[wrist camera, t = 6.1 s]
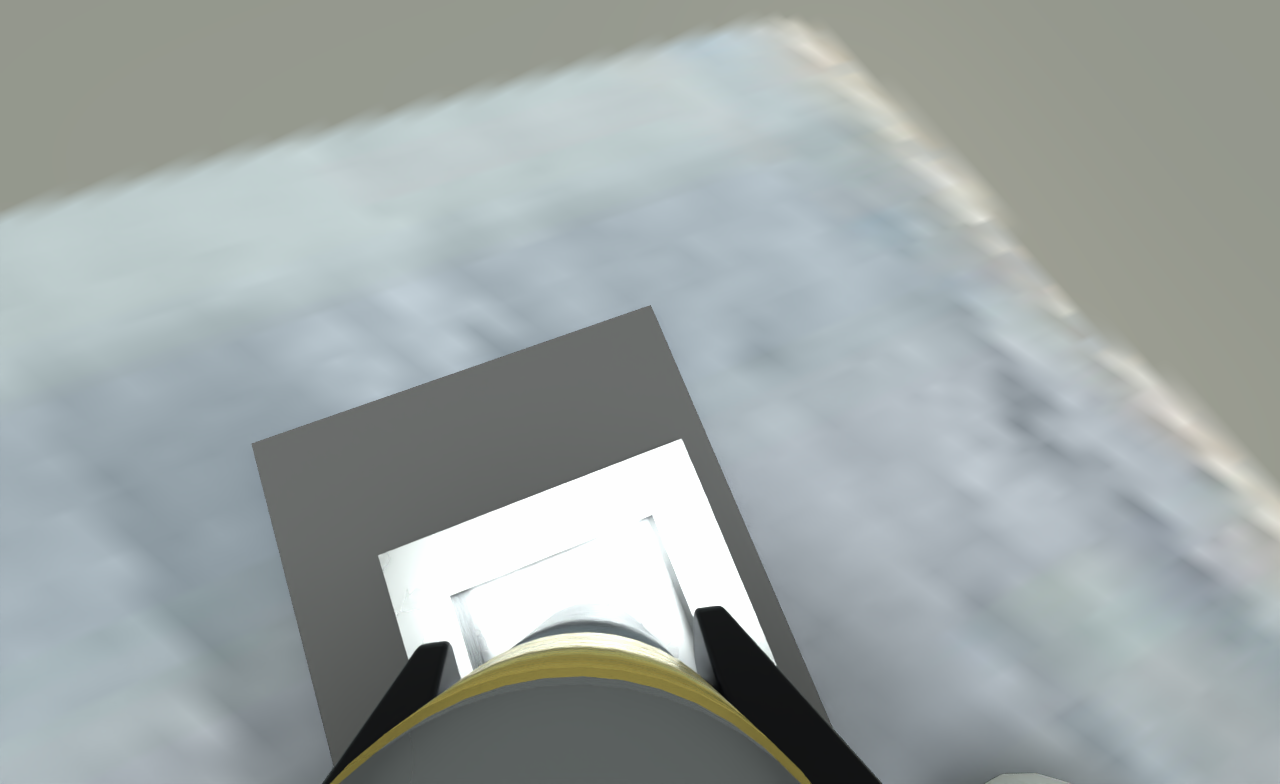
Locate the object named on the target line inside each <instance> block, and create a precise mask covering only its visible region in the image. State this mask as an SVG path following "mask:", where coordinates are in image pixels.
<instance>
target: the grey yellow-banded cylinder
mask: <svg viewBox="0 0 1280 784" xmlns="http://www.w3.org/2000/svg"><path fill="white" fill-rule="evenodd" d="M330 784H811V782H810V781H809V780H808V779H807V777H806V776H805V775H804V774H803V772H802V771H801V770H800V769H799V768H798V767H797V766H796V765H795V764H794V763H793V762H792V761H791V760H790V759H789V758H788V757H787V756H786V755H785V754H784V753H783V752H781V751H780V750H779V749H778V748H777V747H776V746H775V745H774V744H773V743H772V742H771V741H770V740H769V739H768V738H767V737H766V736H765V735H764V734H763V733H762V732H761V731H759V730H758V729H757V728H756V727H755V726H754V725H753V724H752V723H751V722H750V721H749V720H748V719H747V718H745V717H744V716H743V715H742V714H741V713H740V712H739V711H738V710H737V709H736V708H735V707H734V706H732V705H731V704H730V703H729V702H728V701H727V700H726V699H725V698H724V697H723V696H722V695H721V694H720V693H718V692H717V691H716V690H715V689H714V688H713V687H712V686H711V685H710V684H709V683H708V682H707V681H706V680H704V679H703V678H702V677H701V676H700V675H699V674H697V673H696V672H695V671H693V670H692V669H691V668H689V667H688V666H687V665H685V664H684V663H683V662H681V661H680V660H678V659H676V658H675V657H674V656H673V655H672V654H671V653H670V652H669V651H668V650H667V649H666V648H665V647H664V646H663V645H662V644H661V643H660V642H659V641H658V640H657V639H656V638H655V637H654V636H653V635H652V634H651V633H650V632H649V631H648V630H647V629H646V628H645V627H644V626H643V625H642V624H641V623H640V622H639V621H638V620H637V619H635V618H634V617H633V616H631V615H630V614H629V613H627V612H625V611H623V610H621V609H619V608H616V607H614V606H610V605H606V604H600V603H585V604H579V605H575V606H572V607H569V608H566V609H564V610H562V611H560V612H558V613H556V614H555V615H553V616H552V617H550V618H549V619H548V620H546V621H545V622H544V623H543V624H541V625H540V626H539V627H537V628H536V629H535V630H534V631H532V632H531V633H530V634H528V635H527V636H526V637H525V638H523V639H522V640H521V641H519V642H518V643H517V644H516V645H514V646H513V647H512V648H510V649H509V650H507V651H505V652H503V653H501V654H499V655H497V656H495V657H493V658H492V659H490V660H488V661H487V662H485V663H484V664H482V665H481V666H479V667H478V668H476V669H475V670H473V671H472V672H470V673H469V674H467V675H466V676H465V677H463V678H462V679H461V680H459V681H458V682H456V683H455V684H454V685H452V686H451V687H449V688H448V689H447V690H445V691H444V692H442V693H441V694H440V695H438V696H437V697H435V698H434V699H433V700H431V701H430V702H429V703H427V704H426V705H424V706H423V707H422V708H420V709H419V710H417V711H416V712H415V713H413V714H412V715H410V716H409V717H408V718H406V719H405V720H404V721H402V722H401V723H399V724H398V725H397V726H395V727H394V728H392V729H391V730H390V731H388V732H387V733H385V734H384V735H383V736H382V737H381V738H379V739H378V740H377V741H376V742H375V743H373V744H372V745H371V746H370V747H369V748H367V749H366V750H365V751H364V752H363V753H362V754H360V755H359V756H358V757H357V758H356V759H354V760H353V761H352V762H351V763H350V764H348V765H347V767H346V768H345V769H344V770H343V771H342V772H341V773H340V774H339V775H338V776H337V777H336V778H335V779H334V780H333V781H332V782H331V783H330Z"/></svg>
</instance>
